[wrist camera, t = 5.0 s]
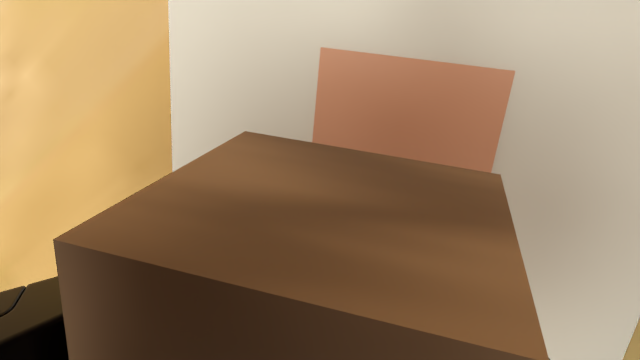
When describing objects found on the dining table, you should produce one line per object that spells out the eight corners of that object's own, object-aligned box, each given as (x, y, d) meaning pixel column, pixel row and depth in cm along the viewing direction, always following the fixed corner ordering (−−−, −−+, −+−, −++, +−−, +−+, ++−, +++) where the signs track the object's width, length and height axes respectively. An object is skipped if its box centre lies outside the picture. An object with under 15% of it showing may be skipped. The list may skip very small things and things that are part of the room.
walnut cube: (500, 173, 8) (549, 363, 4) (447, 386, 10) (439, 683, 6) (245, 131, 10) (52, 239, 5) (238, 329, 11) (92, 541, 7)
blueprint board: (782, -59, 14) (797, -62, 13) (610, 368, 20) (615, 380, 19) (174, -94, 18) (164, -98, 17) (181, 263, 24) (173, 270, 23)
